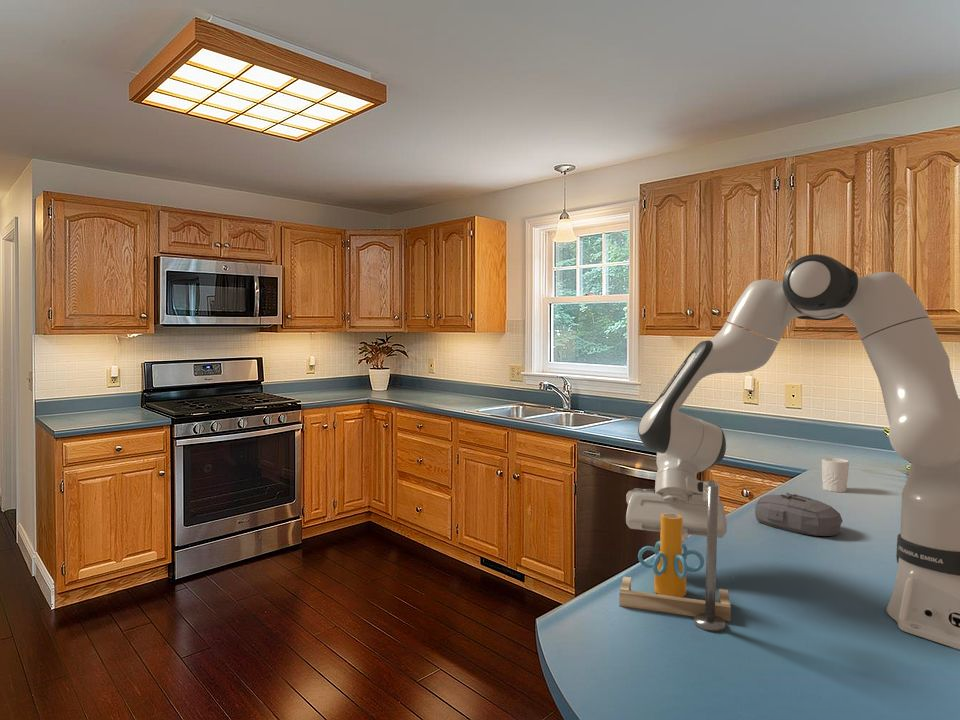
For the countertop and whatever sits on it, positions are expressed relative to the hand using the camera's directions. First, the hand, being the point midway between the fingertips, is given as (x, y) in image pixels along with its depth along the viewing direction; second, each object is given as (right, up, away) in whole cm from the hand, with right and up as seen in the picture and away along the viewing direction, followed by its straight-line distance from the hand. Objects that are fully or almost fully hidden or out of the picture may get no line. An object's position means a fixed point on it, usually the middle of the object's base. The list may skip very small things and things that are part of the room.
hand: (674, 550), depth 126 cm
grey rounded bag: (+44, -6, +37) cm, 58 cm away
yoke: (-4, -6, -12) cm, 14 cm away
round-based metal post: (+1, -7, -17) cm, 18 cm away
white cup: (+77, -4, +78) cm, 110 cm away
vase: (-3, -6, -6) cm, 9 cm away
